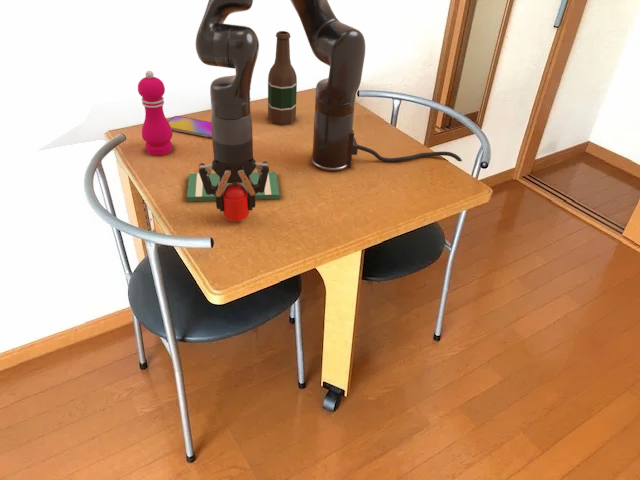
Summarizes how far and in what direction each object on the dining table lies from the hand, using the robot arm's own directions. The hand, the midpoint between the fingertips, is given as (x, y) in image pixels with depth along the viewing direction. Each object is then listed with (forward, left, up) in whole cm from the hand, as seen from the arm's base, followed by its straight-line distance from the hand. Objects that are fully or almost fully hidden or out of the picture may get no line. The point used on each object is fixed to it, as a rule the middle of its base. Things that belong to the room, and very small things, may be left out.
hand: (236, 208), depth 114 cm
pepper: (0, 0, -1) cm, 1 cm away
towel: (0, -12, -3) cm, 12 cm away
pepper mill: (+18, -31, -3) cm, 36 cm away
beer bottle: (-14, -48, -3) cm, 50 cm away
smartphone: (+10, -43, -3) cm, 44 cm away
